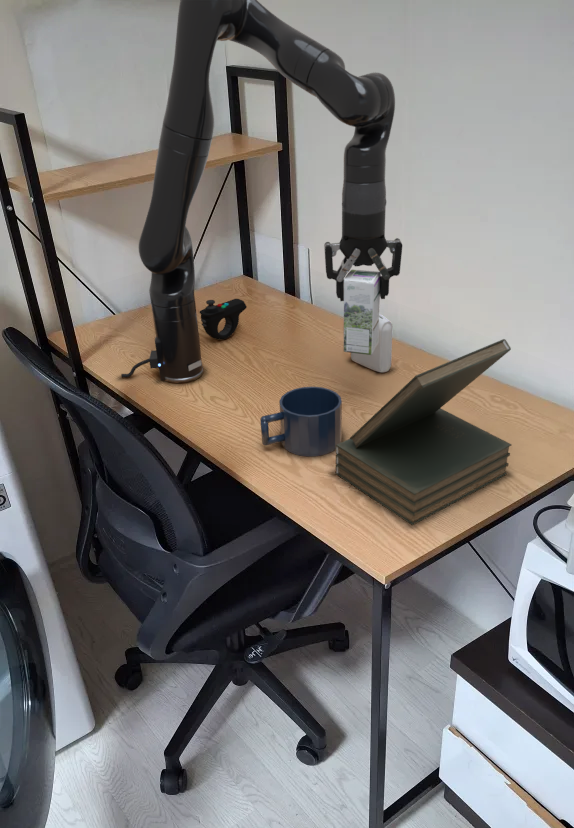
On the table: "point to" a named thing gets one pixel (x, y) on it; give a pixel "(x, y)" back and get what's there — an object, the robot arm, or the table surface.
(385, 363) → the photo printer
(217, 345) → the table surface
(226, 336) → the controller
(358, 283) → the syrup box
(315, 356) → the table surface
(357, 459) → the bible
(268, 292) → the table surface
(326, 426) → the mug
